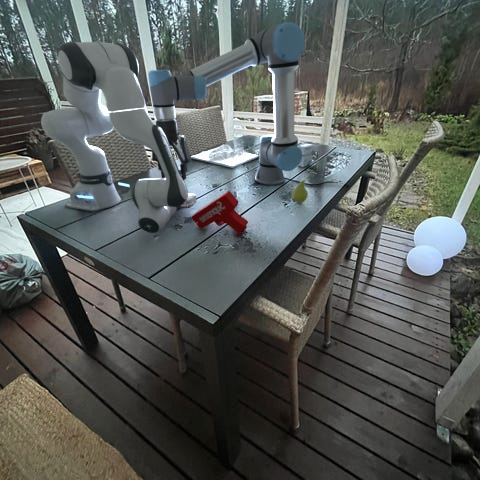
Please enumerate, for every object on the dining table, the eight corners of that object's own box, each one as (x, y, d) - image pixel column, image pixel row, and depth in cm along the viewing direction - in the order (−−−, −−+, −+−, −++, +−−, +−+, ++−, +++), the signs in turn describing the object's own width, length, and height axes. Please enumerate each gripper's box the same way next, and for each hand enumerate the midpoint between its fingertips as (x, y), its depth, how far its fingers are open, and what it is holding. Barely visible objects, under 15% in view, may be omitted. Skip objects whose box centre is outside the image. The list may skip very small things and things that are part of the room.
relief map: (232, 167, 162) (232, 159, 160) (191, 158, 180) (190, 150, 177) (257, 157, 181) (258, 149, 178) (218, 149, 198) (217, 142, 196)
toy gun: (254, 223, 98) (229, 189, 94) (251, 228, 95) (225, 194, 91) (219, 242, 108) (195, 212, 104) (215, 247, 105) (190, 217, 101)
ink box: (304, 162, 171) (306, 143, 164) (310, 164, 168) (313, 144, 161) (296, 165, 166) (298, 145, 159) (302, 167, 163) (305, 147, 156)
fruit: (288, 200, 123) (290, 174, 116) (302, 197, 125) (305, 172, 119) (296, 206, 118) (299, 179, 111) (310, 203, 120) (314, 177, 114)
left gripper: (190, 199, 102) (199, 186, 113) (138, 197, 104) (153, 184, 116) (192, 214, 105) (201, 199, 117) (142, 211, 108) (155, 197, 119)
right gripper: (196, 118, 101) (201, 177, 113) (145, 116, 105) (155, 173, 117) (188, 121, 95) (194, 183, 107) (134, 120, 99) (146, 180, 111)
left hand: (176, 191), depth 116 cm, fingers closed on jar, 5 cm apart
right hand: (174, 178), depth 112 cm, fingers open, 8 cm apart
